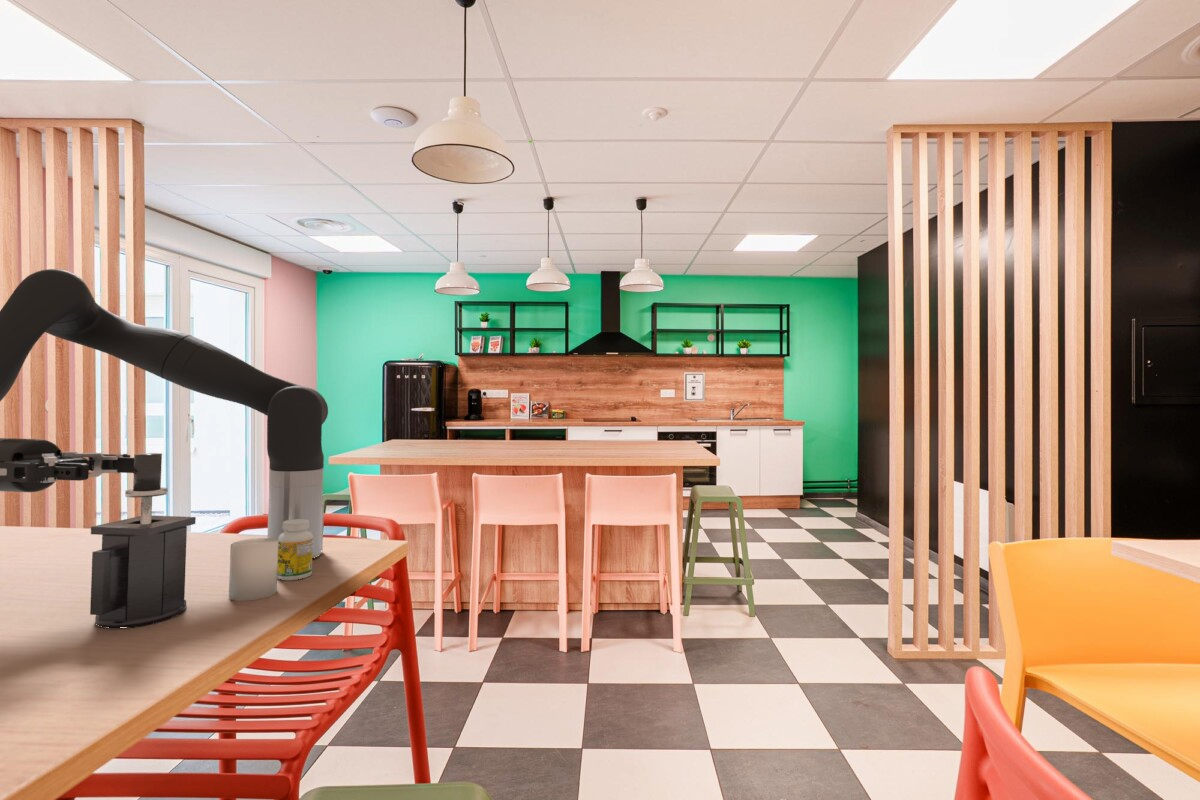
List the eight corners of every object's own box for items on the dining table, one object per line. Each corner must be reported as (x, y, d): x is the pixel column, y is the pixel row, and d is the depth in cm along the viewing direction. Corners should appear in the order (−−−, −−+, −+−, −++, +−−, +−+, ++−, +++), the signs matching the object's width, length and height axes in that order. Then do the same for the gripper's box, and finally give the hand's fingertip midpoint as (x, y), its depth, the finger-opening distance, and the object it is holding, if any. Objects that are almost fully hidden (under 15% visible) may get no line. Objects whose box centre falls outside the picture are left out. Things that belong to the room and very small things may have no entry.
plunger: (141, 597, 79) (147, 452, 80) (172, 599, 79) (177, 453, 79) (111, 609, 75) (117, 455, 75) (144, 610, 75) (149, 456, 75)
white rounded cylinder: (247, 586, 90) (249, 537, 90) (285, 587, 89) (287, 538, 90) (218, 599, 83) (220, 547, 84) (259, 601, 83) (260, 548, 83)
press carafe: (140, 600, 82) (143, 513, 82) (203, 603, 82) (206, 516, 82) (59, 632, 70) (63, 531, 71) (131, 636, 70) (135, 534, 70)
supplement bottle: (318, 575, 96) (320, 520, 96) (288, 583, 92) (290, 525, 92) (299, 570, 99) (301, 516, 99) (269, 577, 94) (271, 521, 94)
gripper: (-53, 441, 71) (65, 445, 70) (61, 435, 85) (160, 439, 85) (-56, 499, 71) (63, 504, 70) (58, 484, 85) (158, 488, 84)
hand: (116, 468), depth 77 cm, fingers open, 8 cm apart
